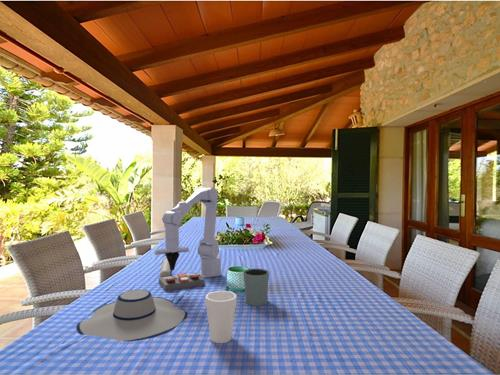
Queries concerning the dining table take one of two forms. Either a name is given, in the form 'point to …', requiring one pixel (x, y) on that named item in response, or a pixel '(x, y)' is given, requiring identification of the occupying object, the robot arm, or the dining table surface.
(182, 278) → the rocker
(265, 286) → the grey-green pot
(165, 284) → the switch panel
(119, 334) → the sun hat
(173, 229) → the robot arm
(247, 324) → the dining table surface
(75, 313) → the dining table surface
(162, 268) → the tube
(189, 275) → the rocker
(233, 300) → the foam cup
